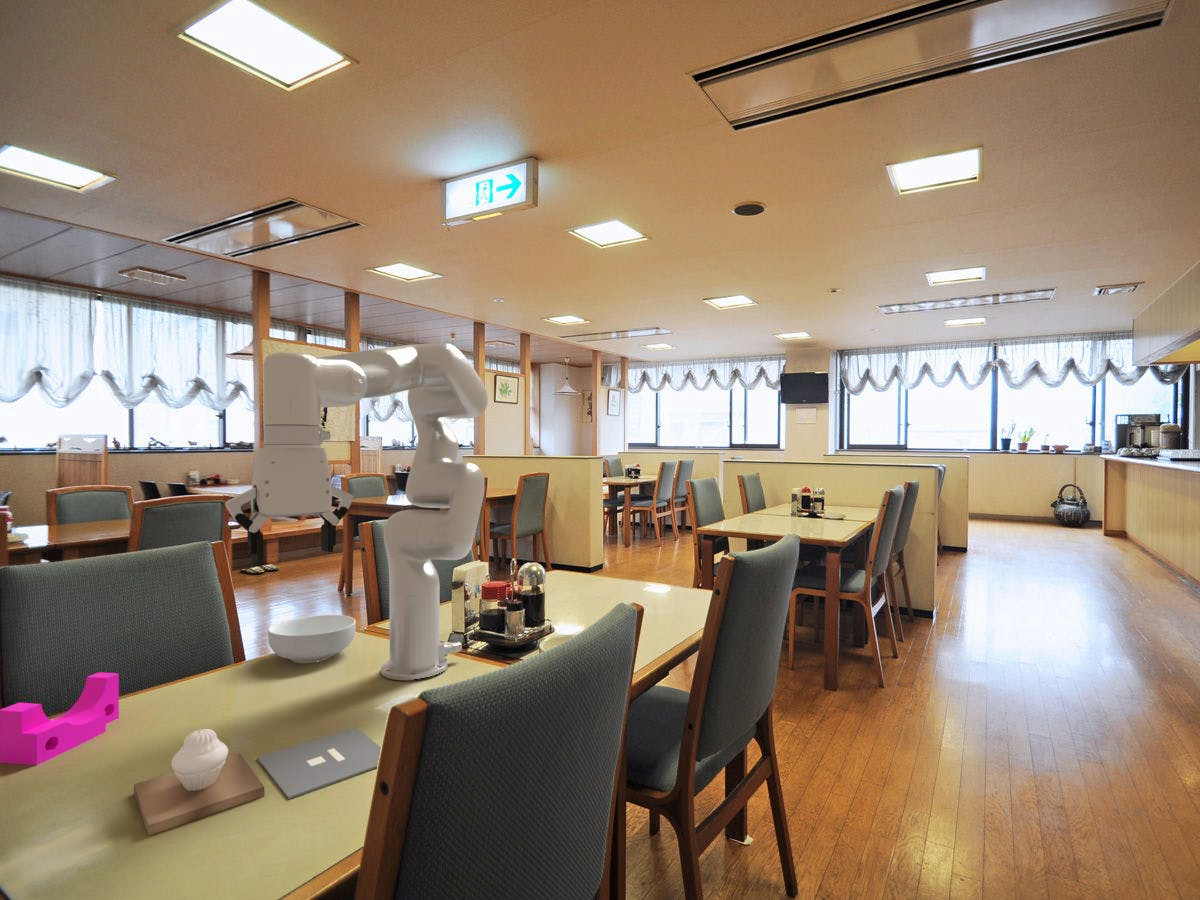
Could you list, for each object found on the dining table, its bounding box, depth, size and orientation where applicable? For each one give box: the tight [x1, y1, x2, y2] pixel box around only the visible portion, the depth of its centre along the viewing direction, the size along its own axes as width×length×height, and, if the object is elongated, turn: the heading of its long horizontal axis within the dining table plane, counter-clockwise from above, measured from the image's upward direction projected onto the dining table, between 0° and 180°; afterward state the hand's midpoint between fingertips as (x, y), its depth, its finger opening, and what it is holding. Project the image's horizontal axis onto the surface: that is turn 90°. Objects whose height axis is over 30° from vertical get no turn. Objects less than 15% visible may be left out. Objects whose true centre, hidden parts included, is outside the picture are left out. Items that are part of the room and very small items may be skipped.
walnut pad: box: [133, 752, 265, 836], centre depth 80 cm, size 12×12×1 cm
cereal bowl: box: [267, 614, 357, 664], centre depth 133 cm, size 17×17×7 cm
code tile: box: [256, 727, 382, 800], centre depth 89 cm, size 14×14×1 cm
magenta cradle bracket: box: [0, 671, 120, 766], centre depth 96 cm, size 15×6×8 cm, turn 171°
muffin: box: [171, 728, 229, 791], centre depth 80 cm, size 6×6×7 cm
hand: (293, 555), depth 93 cm, fingers open, 9 cm apart
